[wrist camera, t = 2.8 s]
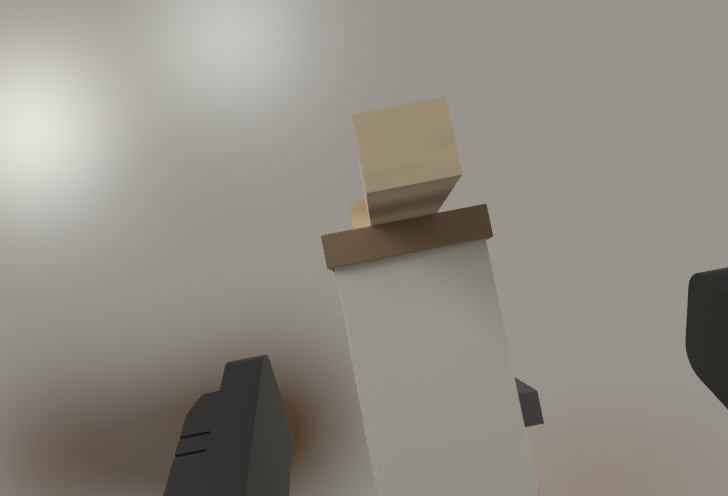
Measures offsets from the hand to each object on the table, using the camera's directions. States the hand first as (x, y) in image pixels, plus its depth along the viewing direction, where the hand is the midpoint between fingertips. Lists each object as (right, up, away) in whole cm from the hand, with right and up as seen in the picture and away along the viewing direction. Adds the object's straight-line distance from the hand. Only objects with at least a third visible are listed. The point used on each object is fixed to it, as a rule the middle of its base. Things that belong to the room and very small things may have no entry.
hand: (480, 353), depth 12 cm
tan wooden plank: (0, +3, +18) cm, 18 cm away
